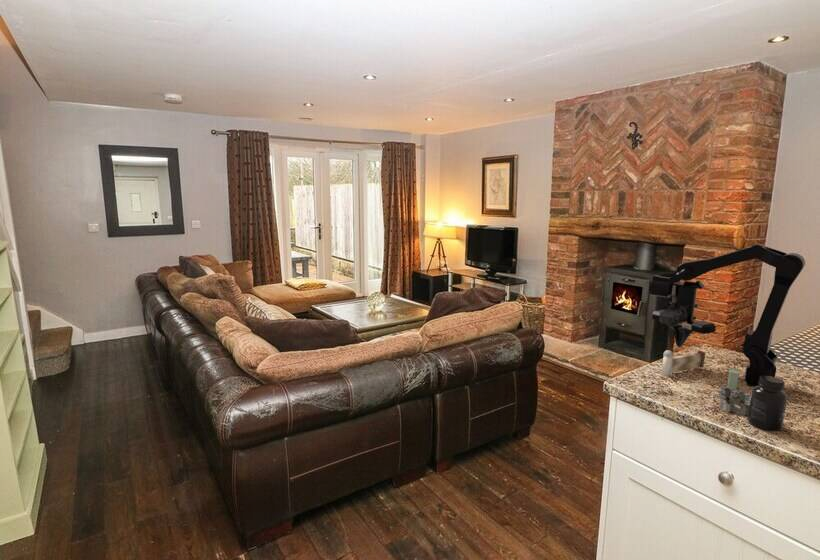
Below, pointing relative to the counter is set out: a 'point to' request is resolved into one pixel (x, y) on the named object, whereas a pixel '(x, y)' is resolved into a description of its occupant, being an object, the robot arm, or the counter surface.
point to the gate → (688, 361)
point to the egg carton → (734, 400)
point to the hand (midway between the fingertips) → (679, 346)
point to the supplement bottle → (768, 404)
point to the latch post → (733, 378)
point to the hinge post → (667, 363)
